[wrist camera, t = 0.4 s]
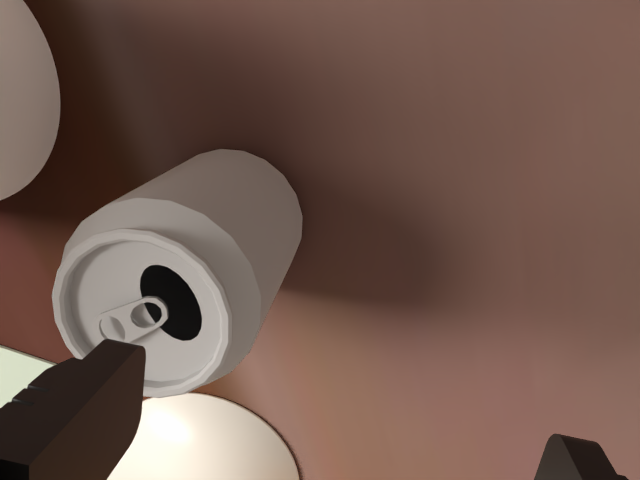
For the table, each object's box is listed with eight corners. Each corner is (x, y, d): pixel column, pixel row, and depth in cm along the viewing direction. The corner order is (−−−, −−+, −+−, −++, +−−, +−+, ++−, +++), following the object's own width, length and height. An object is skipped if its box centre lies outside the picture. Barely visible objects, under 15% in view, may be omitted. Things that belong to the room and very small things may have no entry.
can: (327, 254, 29) (287, 383, 18) (207, 297, 31) (101, 441, 20) (268, 122, 27) (181, 175, 16) (143, 177, 29) (-14, 260, 18)
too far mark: (-42, 330, 34) (-44, 332, 34) (110, 381, 34) (109, 383, 33) (-49, 452, 37) (-51, 454, 37) (88, 498, 37) (87, 500, 37)
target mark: (122, 364, 33) (120, 366, 33) (325, 432, 33) (324, 434, 33) (92, 516, 38) (91, 518, 37) (270, 576, 37) (270, 579, 37)
